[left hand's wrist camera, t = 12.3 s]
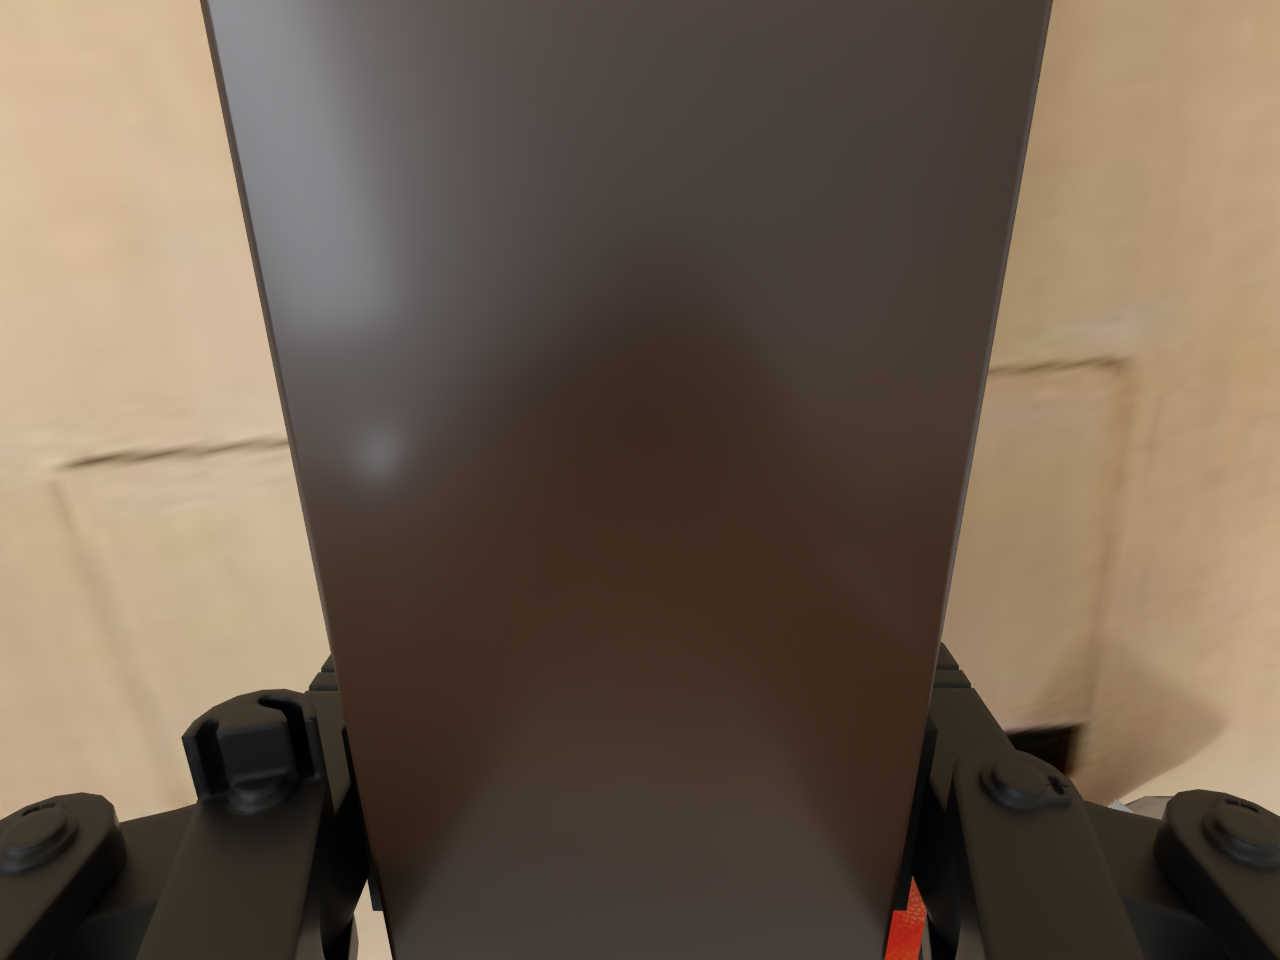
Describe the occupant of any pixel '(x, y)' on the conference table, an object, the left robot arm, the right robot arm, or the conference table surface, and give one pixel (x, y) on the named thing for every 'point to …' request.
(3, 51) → the conference table surface
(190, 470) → the conference table surface
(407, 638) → the walnut box
